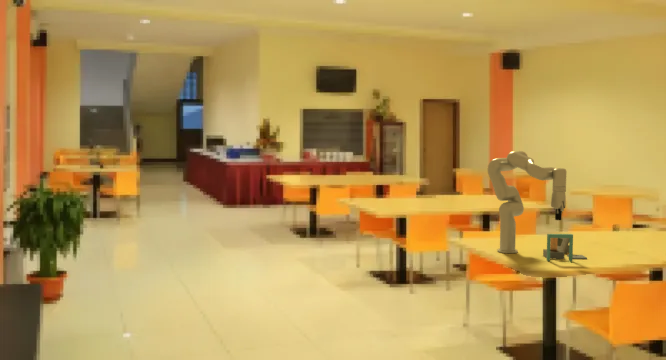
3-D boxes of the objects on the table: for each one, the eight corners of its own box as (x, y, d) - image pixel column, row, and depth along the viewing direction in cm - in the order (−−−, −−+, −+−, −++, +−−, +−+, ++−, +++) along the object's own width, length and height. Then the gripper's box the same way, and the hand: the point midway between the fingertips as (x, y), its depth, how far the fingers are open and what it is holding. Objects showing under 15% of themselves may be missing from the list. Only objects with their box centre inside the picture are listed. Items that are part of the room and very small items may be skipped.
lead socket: (543, 255, 425) (543, 249, 425) (559, 255, 425) (559, 249, 424) (547, 258, 415) (547, 252, 415) (564, 258, 415) (564, 252, 414)
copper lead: (549, 256, 422) (549, 237, 421) (556, 256, 422) (556, 237, 421) (551, 257, 418) (551, 238, 417) (557, 257, 418) (558, 238, 417)
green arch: (546, 260, 409) (547, 233, 408) (570, 260, 409) (571, 233, 407) (547, 261, 406) (548, 234, 405) (572, 261, 406) (573, 234, 404)
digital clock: (551, 249, 447) (551, 233, 446) (565, 250, 446) (566, 233, 445) (556, 254, 431) (557, 237, 430) (571, 254, 430) (572, 237, 429)
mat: (567, 256, 424) (567, 254, 424) (581, 256, 424) (581, 254, 424) (571, 259, 414) (572, 257, 414) (587, 259, 414) (587, 257, 414)
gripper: (547, 188, 415) (546, 218, 417) (558, 190, 401) (558, 221, 402) (559, 188, 417) (558, 218, 418) (571, 190, 402) (570, 221, 403)
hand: (558, 219), depth 410 cm, fingers closed
